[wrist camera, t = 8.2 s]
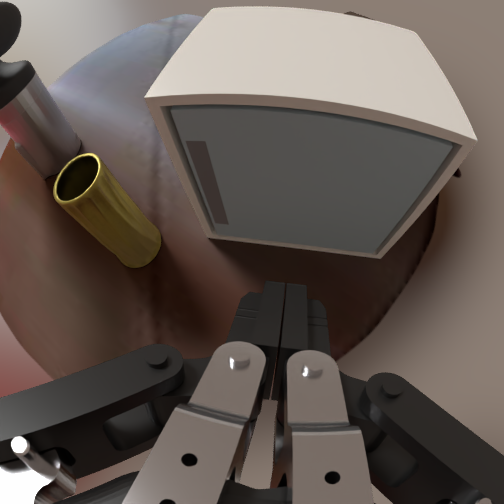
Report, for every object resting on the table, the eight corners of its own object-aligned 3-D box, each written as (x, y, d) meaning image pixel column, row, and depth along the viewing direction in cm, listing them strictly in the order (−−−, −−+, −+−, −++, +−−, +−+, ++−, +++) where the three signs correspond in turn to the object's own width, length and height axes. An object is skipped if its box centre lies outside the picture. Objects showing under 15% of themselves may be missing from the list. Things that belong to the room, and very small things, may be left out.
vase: (139, 214, 35) (84, 140, 21) (171, 238, 33) (119, 162, 20) (109, 250, 33) (40, 190, 20) (139, 278, 31) (67, 221, 18)
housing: (396, 261, 30) (499, 150, 12) (207, 237, 33) (144, 97, 14) (386, 155, 36) (433, 38, 17) (233, 136, 38) (212, 8, 20)
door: (372, 253, 29) (452, 147, 13) (217, 234, 31) (170, 110, 15) (372, 246, 30) (449, 137, 13) (218, 227, 32) (174, 102, 15)
